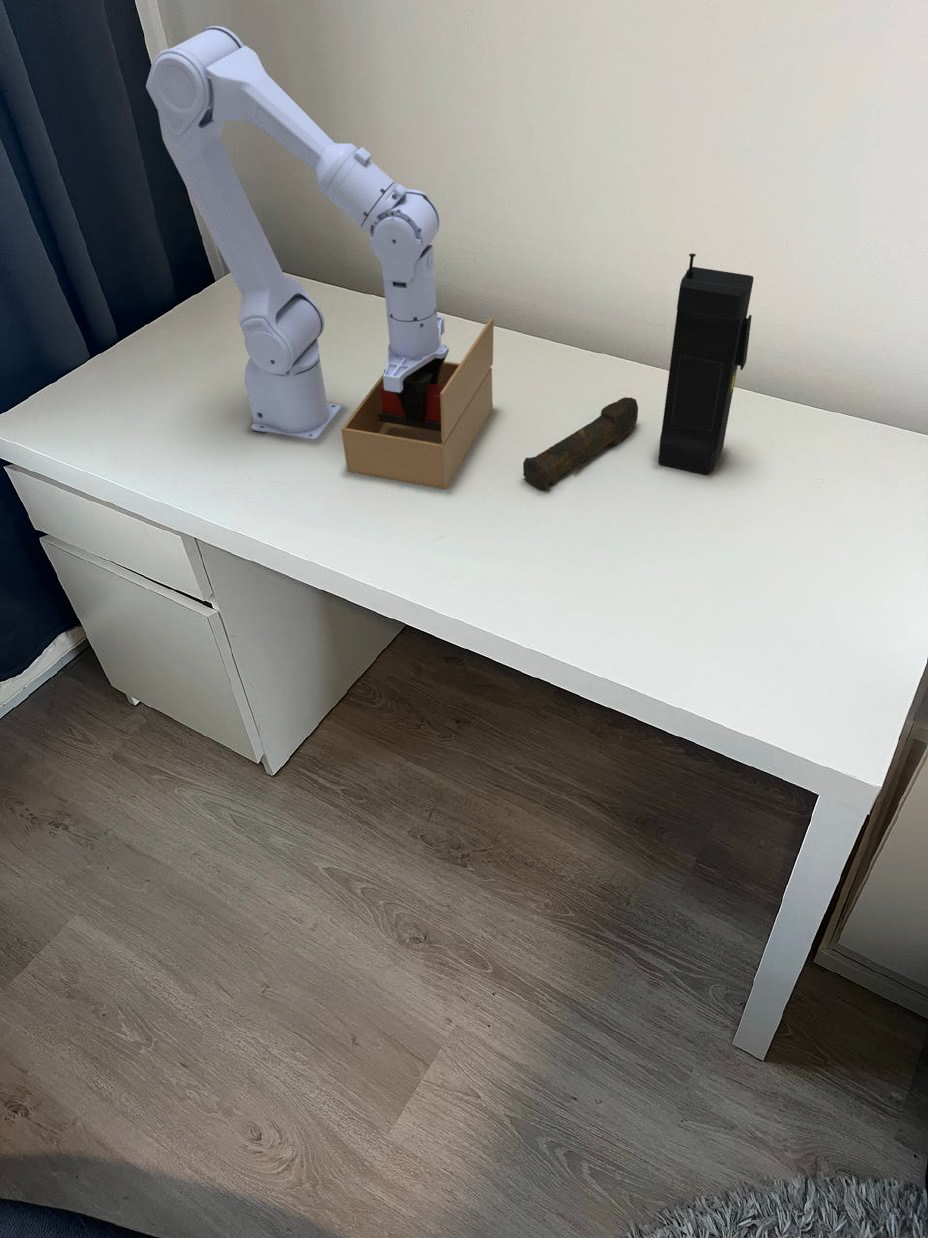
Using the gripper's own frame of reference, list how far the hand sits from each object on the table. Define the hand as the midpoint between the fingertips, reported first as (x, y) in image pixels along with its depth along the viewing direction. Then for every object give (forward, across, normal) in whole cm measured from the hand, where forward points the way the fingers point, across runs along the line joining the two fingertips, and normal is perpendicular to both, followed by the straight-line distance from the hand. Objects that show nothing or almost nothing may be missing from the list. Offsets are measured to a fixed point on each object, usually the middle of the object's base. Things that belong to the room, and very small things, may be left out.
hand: (420, 412), depth 116 cm
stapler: (+1, 0, 0) cm, 1 cm away
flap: (-6, 0, -6) cm, 9 cm away
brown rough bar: (+4, +3, -20) cm, 21 cm away
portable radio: (+4, +6, -33) cm, 34 cm away
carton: (+4, 0, 0) cm, 4 cm away
